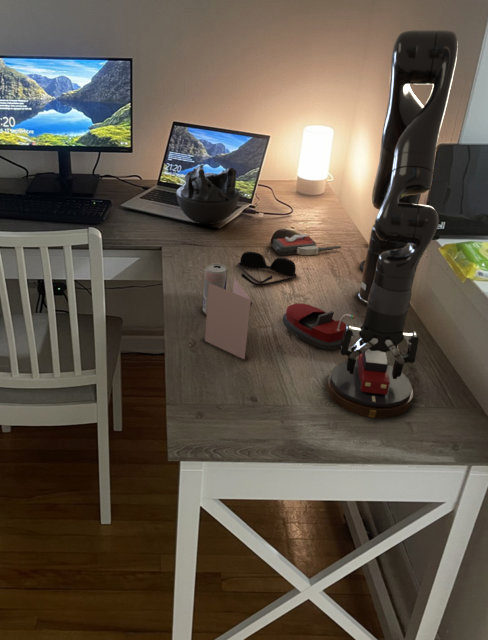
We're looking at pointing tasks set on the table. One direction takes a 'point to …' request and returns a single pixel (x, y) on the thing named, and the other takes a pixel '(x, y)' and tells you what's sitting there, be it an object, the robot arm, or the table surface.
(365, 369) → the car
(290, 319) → the bumper car
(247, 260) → the sunglasses
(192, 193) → the bowl of black rocks
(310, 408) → the table surface
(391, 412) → the stand
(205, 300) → the energy drink
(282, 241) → the walkie-talkie
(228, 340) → the greeting card
